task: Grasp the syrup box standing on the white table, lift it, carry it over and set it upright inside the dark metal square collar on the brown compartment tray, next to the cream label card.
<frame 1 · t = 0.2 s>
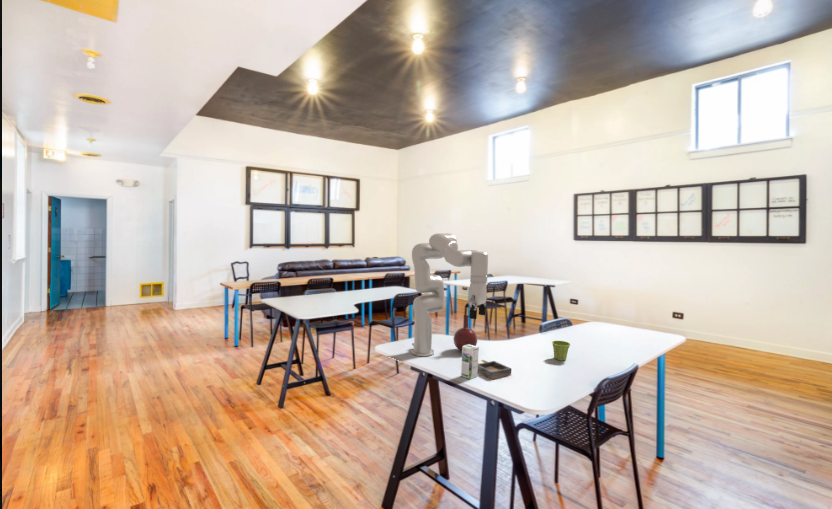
hand: (477, 316, 192), 30 cm above the table, tool pointing down, fingers open, 9 cm apart
plant pot: (560, 359, 228), on the table
brown compartment tray: (487, 370, 208), on the table
syrup box: (469, 376, 199), on the table
round-bottom flask: (464, 351, 237), on the table
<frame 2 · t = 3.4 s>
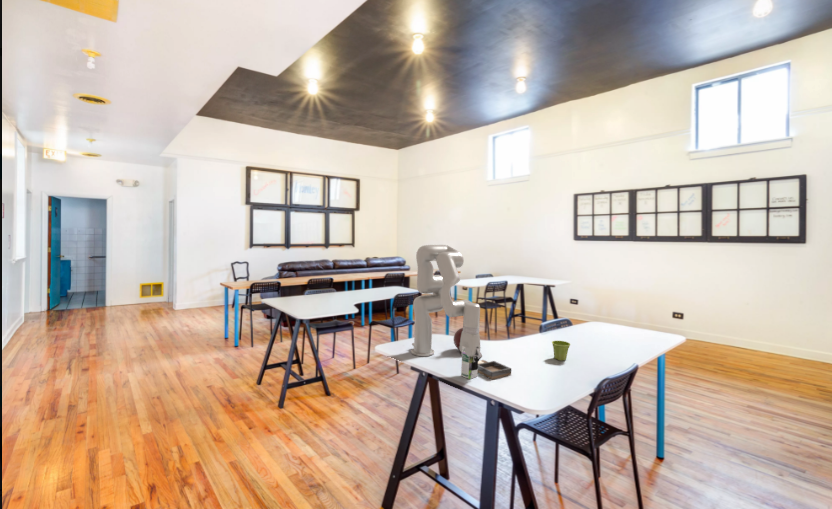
hand: (469, 367, 199), 4 cm above the table, tool pointing down, fingers closed on syrup box, 6 cm apart
syrup box: (469, 376, 199), on the table, touching gripper
everything else where it was.
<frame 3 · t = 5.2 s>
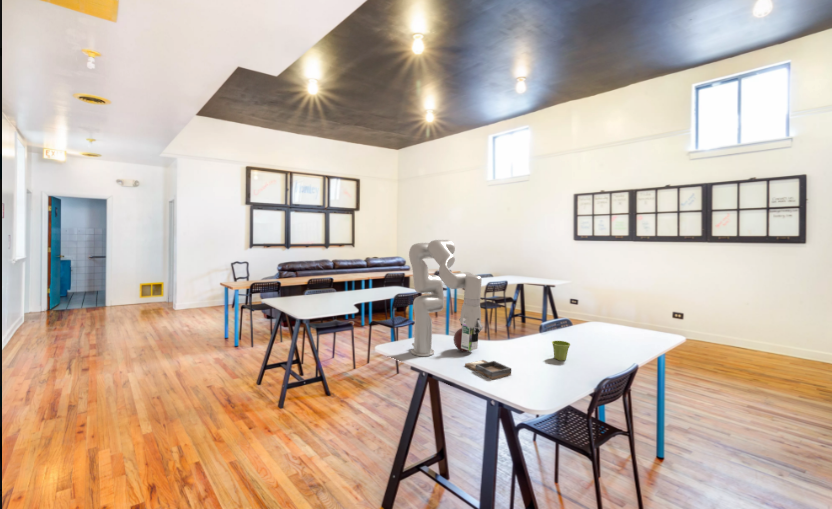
hand: (469, 339, 198), 18 cm above the table, tool pointing down, fingers closed on syrup box, 6 cm apart
syrup box: (469, 348, 199), point 13 cm above the table, touching gripper
everything else where it was.
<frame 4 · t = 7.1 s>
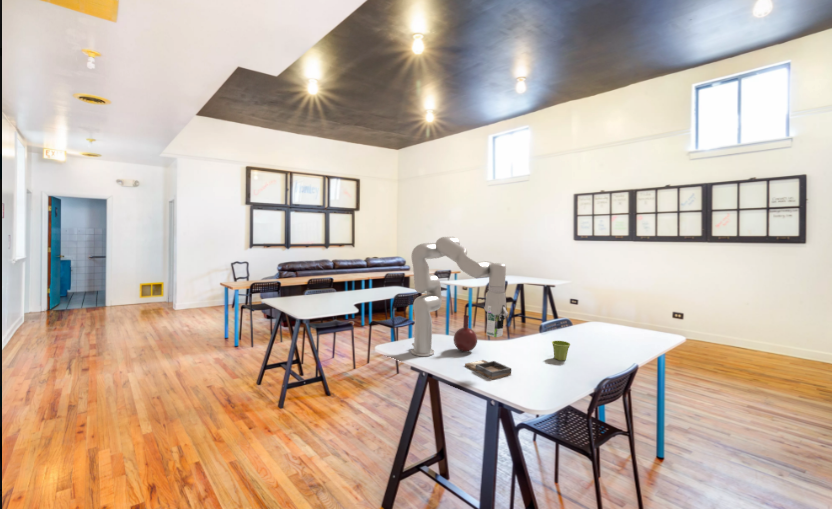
hand: (495, 326, 202), 23 cm above the table, tool pointing down, fingers closed on syrup box, 6 cm apart
syrup box: (494, 335, 203), point 18 cm above the table, touching gripper
everything else where it was.
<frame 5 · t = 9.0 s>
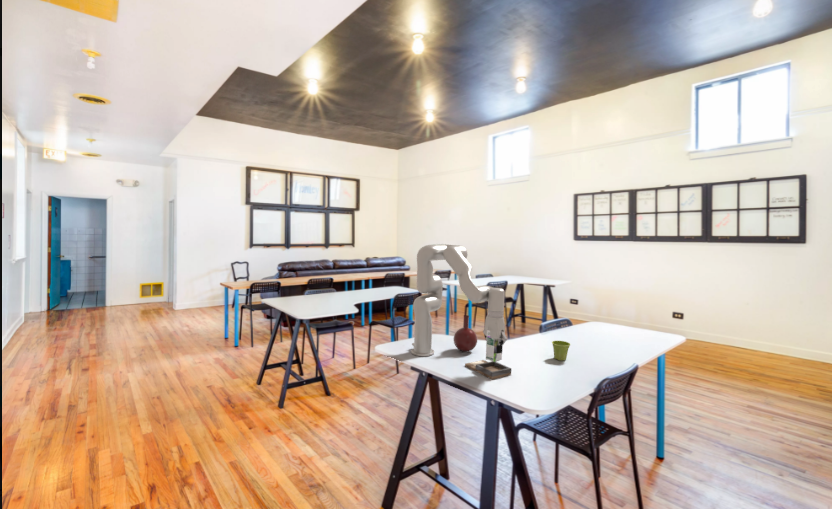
hand: (494, 350, 203), 11 cm above the table, tool pointing down, fingers closed on syrup box, 6 cm apart
syrup box: (493, 360, 204), point 6 cm above the table, touching gripper
everything else where it was.
when the fingers open (7 cm above the table, at t = 10.8 s): syrup box drops 1 cm, resting on brown compartment tray.
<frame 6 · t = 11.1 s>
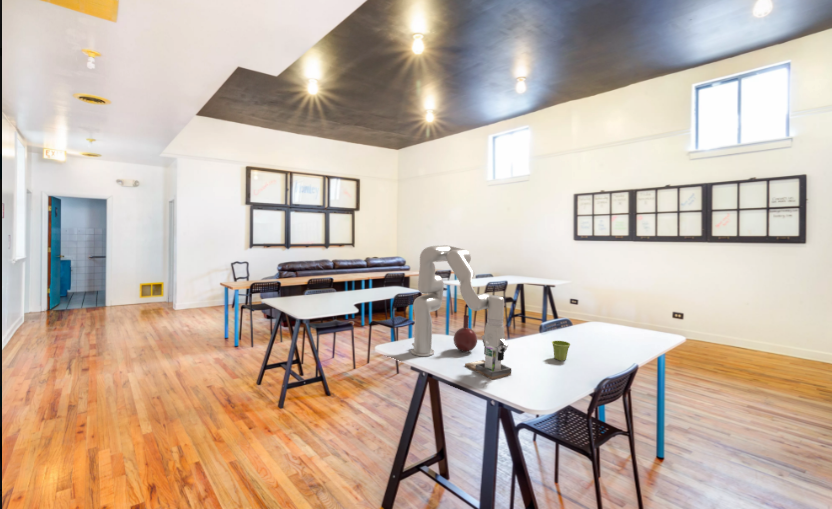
hand: (493, 357, 204), 8 cm above the table, tool pointing down, fingers open, 9 cm apart
syrup box: (492, 370, 204), point 1 cm above the table, touching brown compartment tray
everything else where it was.
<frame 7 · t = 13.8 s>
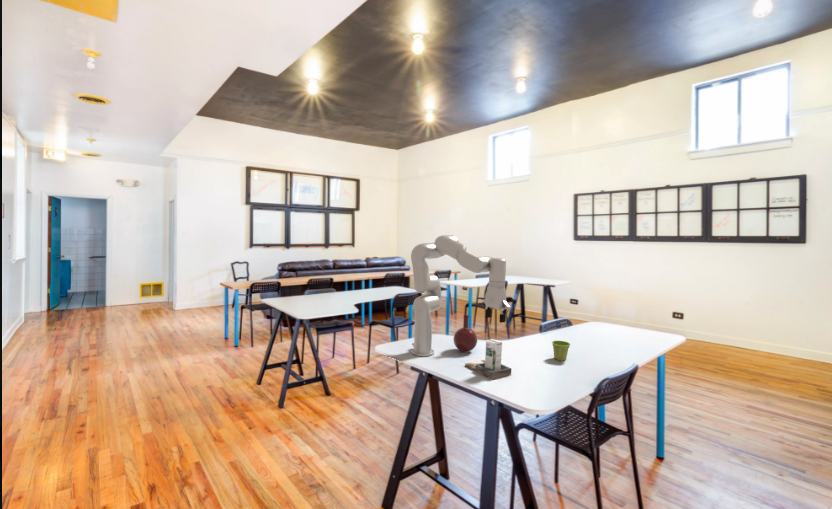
hand: (495, 319, 202), 26 cm above the table, tool pointing down, fingers open, 9 cm apart
nothing on the table moved.
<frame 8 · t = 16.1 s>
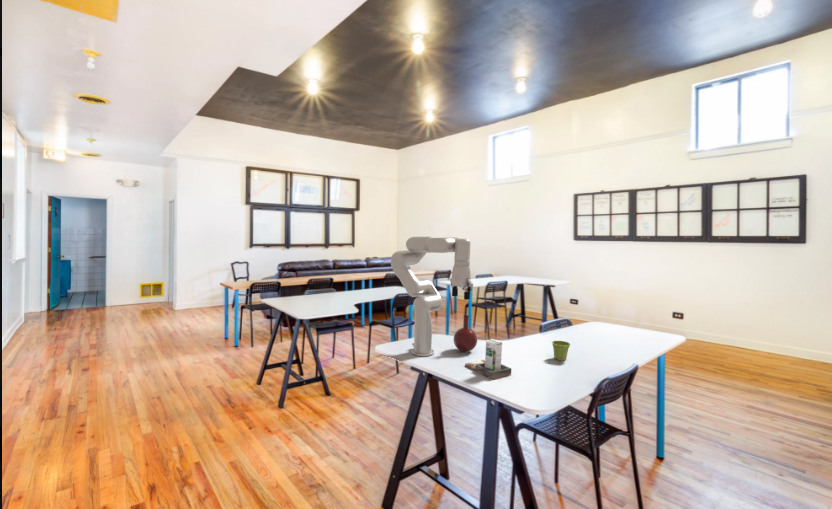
hand: (460, 297, 212), 34 cm above the table, tool pointing down, fingers open, 9 cm apart
nothing on the table moved.
at the end: syrup box 0.3 cm from the target spot on the brown compartment tray, point 1.0 cm above the brown compartment tray's base; syrup box tilted 0°; the gripper is holding nothing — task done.
